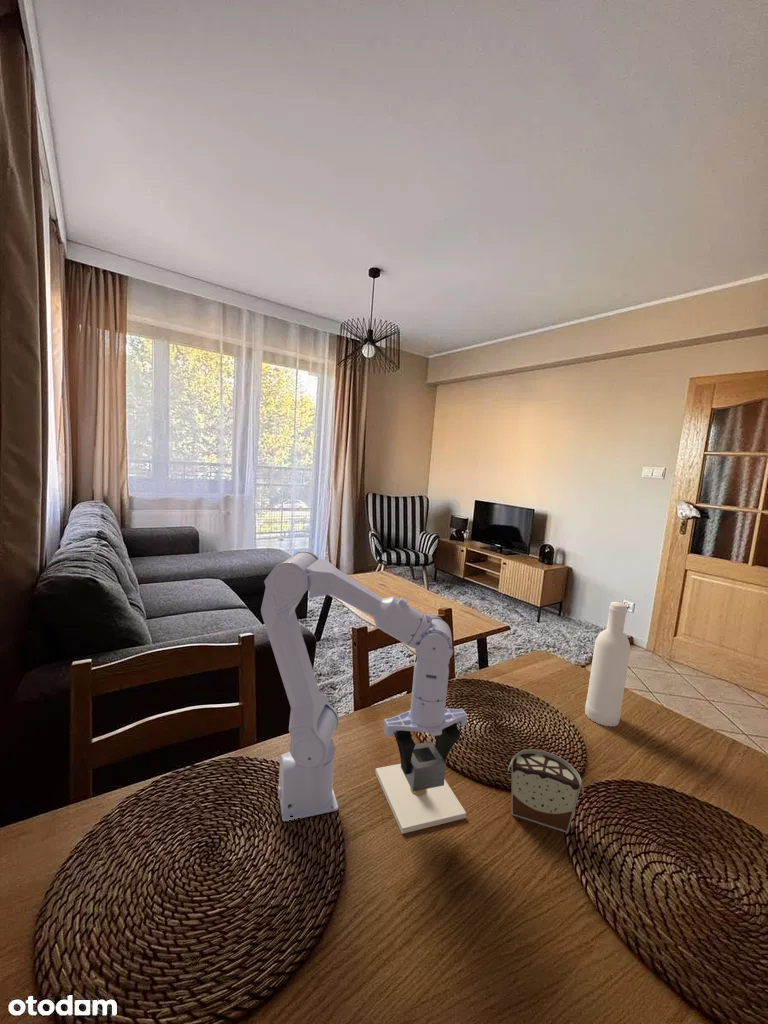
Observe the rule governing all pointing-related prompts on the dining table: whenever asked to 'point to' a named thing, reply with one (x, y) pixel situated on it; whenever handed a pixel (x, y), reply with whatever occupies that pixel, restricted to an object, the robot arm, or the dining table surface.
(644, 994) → the dining table surface
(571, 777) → the food container
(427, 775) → the collar
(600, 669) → the bottle
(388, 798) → the shaft board
